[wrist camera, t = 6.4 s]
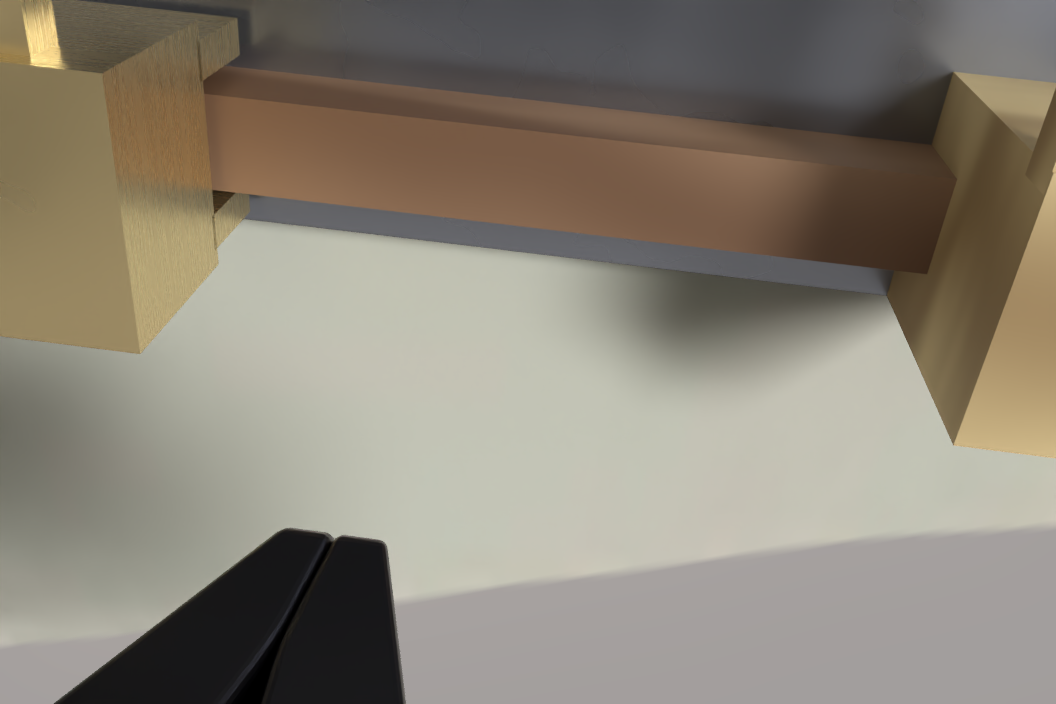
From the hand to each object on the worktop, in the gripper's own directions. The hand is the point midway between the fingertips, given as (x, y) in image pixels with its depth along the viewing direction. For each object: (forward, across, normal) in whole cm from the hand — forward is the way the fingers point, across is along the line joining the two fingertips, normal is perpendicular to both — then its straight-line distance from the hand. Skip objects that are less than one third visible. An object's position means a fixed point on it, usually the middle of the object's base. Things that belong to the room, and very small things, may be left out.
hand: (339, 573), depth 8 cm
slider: (+10, +6, -2) cm, 12 cm away
